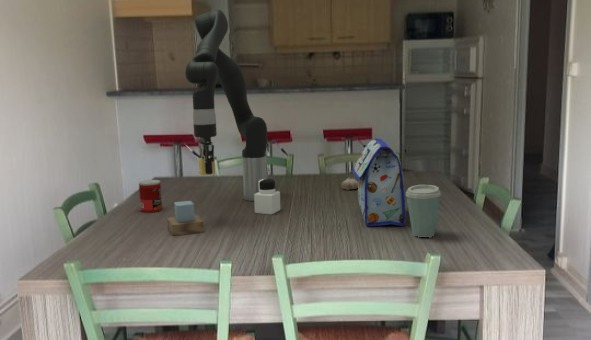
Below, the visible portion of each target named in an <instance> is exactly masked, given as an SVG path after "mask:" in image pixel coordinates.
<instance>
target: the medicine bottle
mask: <svg viewBox="0 0 591 340" xmlns="http://www.w3.org/2000/svg"><path fill="white" fill-rule="evenodd" d="M258 185H259V191H260V192H258V193H256V194H254V201H253V202H254V203H253V204H254V213H255V214H263V215H272V216H273V215H274V214H276V213H278V212H279V211H281V192H280V191H278V190H276V181H275V180H274V178H273V179H272V178H268V179H262V180H260V181H259V182H258Z"/></svg>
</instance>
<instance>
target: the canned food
mask: <svg viewBox="0 0 591 340" xmlns="http://www.w3.org/2000/svg"><path fill="white" fill-rule="evenodd" d="M138 189H139V190H138V192H139V203H140V211H142V212H143V213H156V212H159V211H162V209H163V204H162V203H163V201H162V185H161V180H158V179H146V180H145V179H144V180H140V181H139V182H138Z"/></svg>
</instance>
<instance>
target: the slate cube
mask: <svg viewBox="0 0 591 340" xmlns="http://www.w3.org/2000/svg"><path fill="white" fill-rule="evenodd" d="M173 203H174V217H175V219H176V221H177V222H178V223H179V222H188V221H195V215H196V214H195V203H193V202H192V200H185V201H175V202H173Z"/></svg>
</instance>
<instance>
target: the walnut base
mask: <svg viewBox="0 0 591 340" xmlns="http://www.w3.org/2000/svg"><path fill="white" fill-rule="evenodd" d="M166 219H167V228H168V230H169V232H170V234H171V236H172V237H173V236H175V237H176V236H183V235H191V234H197V233H199V234H200V233H204V232H205V231H204V230H205V229H204V221H203V219H201V217H200V216H199V215H198V214H195V221H188V222H179V223H178V222H177V221H176V219H175V216H173V217H172V216H171V217H167V218H166Z"/></svg>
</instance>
